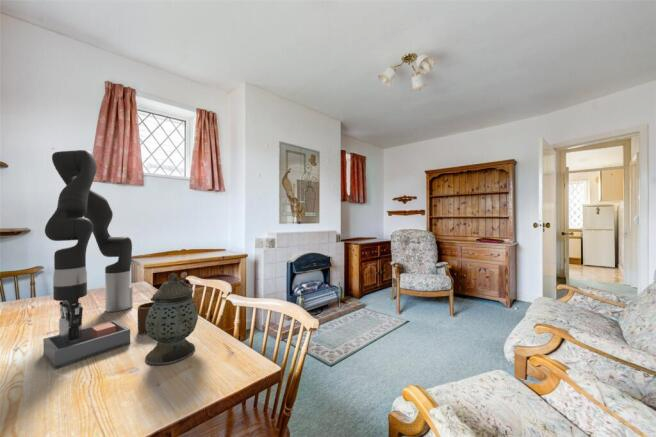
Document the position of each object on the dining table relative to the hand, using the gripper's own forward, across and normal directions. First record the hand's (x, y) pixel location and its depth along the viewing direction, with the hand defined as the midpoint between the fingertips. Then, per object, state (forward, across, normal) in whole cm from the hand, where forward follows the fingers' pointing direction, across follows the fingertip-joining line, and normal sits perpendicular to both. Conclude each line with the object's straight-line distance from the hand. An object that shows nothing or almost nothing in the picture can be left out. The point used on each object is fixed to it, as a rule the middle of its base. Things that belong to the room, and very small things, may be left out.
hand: (71, 336), depth 83 cm
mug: (+6, -2, -22) cm, 23 cm away
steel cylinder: (+1, 0, 0) cm, 1 cm away
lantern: (+6, -25, -18) cm, 31 cm away
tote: (+5, 0, -4) cm, 7 cm away
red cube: (+4, 0, -8) cm, 9 cm away
